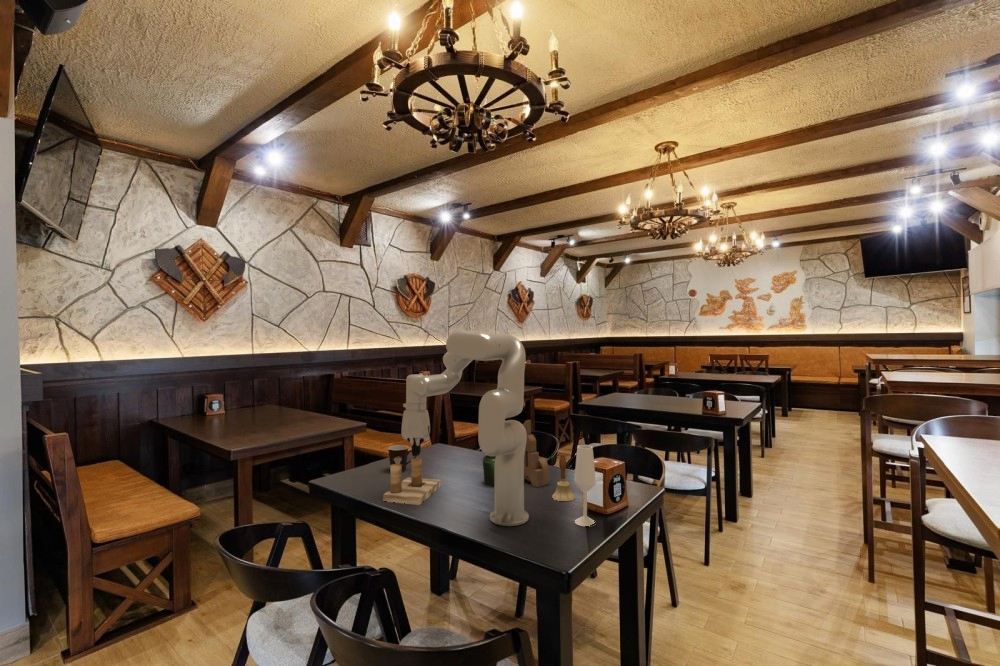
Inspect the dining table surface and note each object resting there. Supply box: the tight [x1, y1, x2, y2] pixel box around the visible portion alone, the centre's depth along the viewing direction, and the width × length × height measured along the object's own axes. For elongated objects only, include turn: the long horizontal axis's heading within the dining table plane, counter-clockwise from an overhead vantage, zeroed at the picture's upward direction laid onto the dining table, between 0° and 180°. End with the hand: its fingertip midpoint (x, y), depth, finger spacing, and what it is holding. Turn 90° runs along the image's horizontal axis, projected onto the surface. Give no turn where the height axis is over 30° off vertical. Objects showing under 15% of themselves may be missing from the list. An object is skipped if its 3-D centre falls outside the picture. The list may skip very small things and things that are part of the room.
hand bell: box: [551, 453, 576, 502], centre depth 168 cm, size 8×8×16 cm
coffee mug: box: [387, 444, 417, 473], centre depth 201 cm, size 12×9×10 cm
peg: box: [410, 457, 423, 487], centre depth 175 cm, size 4×4×12 cm
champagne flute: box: [573, 444, 597, 527], centre depth 146 cm, size 7×7×24 cm
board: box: [382, 464, 441, 506], centre depth 172 cm, size 20×14×12 cm
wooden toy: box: [522, 419, 550, 488], centre depth 187 cm, size 16×7×25 cm, turn 39°
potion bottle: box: [482, 454, 496, 487], centre depth 184 cm, size 8×8×18 cm
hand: (416, 455), depth 175 cm, fingers closed
